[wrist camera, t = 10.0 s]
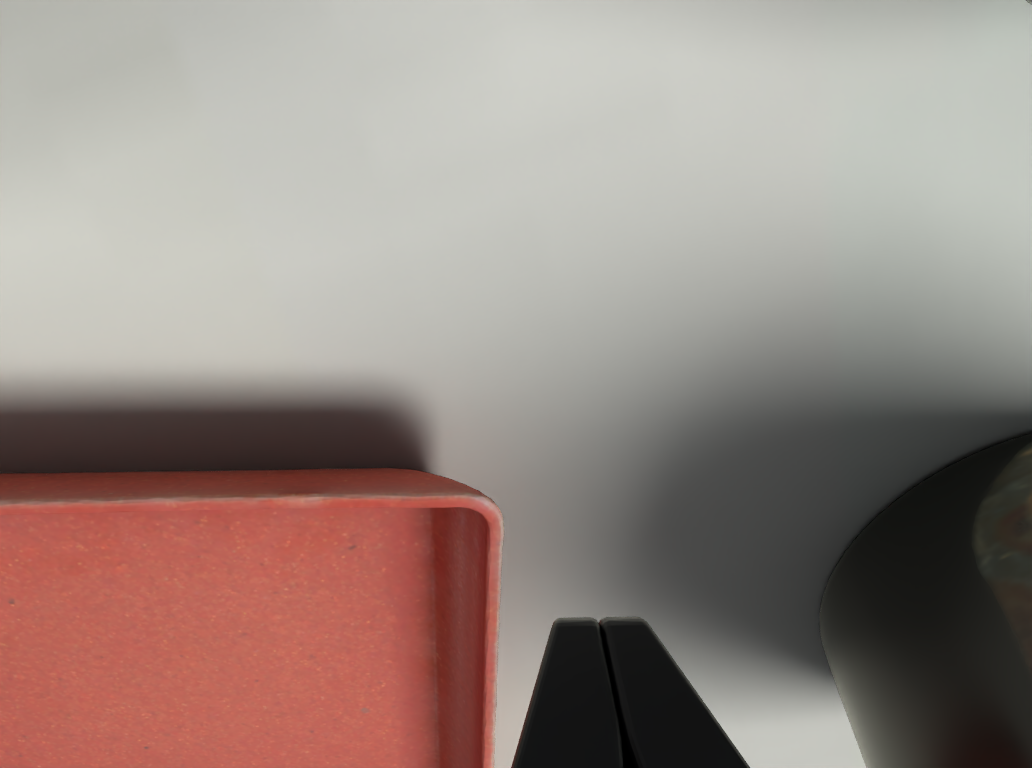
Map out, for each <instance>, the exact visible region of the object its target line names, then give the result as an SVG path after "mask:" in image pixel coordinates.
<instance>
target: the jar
mask: <svg viewBox="0 0 1032 768" xmlns="http://www.w3.org/2000/svg"><path fill="white" fill-rule="evenodd" d="M819 627H820V635H821V640H822V644H823V648H824V652H825V655H826V658H827V661H828V664H829V667H830V669H831V672H832V675H833V678H834V681H835V683H836V686H837V689H838V692H839V694H840V697H841V700H842V703H843V705H844V708H845V711H846V714H847V716H848V719H849V722H850V724H851V727H852V730H853V733H854V735H855V738H856V741H857V743H858V746H859V749H860V751H861V754H862V757H863V760H864V762H865V765H866V768H1032V434H1028V435H1024V436H1021V437H1018V438H1015V439H1012V440H1009V441H1006V442H1003V443H1000V444H998V445H995V446H992V447H990V448H987V449H984V450H982V451H980V452H978V453H975V454H973V455H971V456H969V457H966V458H964V459H962V460H960V461H958V462H956V463H955V464H953V465H951V466H949V467H947V468H945V469H943V470H941V471H940V472H938V473H936V474H935V475H933V476H931V477H929V478H928V479H926V480H925V481H923V482H922V483H920V484H918V485H917V486H915V487H914V488H912V489H911V490H909V491H908V492H907V493H905V494H904V495H903V496H901V497H900V498H899V499H897V500H896V501H895V502H893V503H892V504H891V505H890V506H889V507H888V508H886V509H885V510H884V511H883V512H882V513H880V514H879V515H878V516H877V517H876V518H875V519H874V520H873V521H872V522H871V523H870V524H869V525H868V526H867V527H866V528H865V529H864V530H863V531H862V532H861V533H860V535H859V536H858V537H857V538H856V539H855V540H854V541H853V543H852V544H851V545H850V547H849V548H848V549H847V550H846V552H845V553H844V555H843V556H842V558H841V559H840V561H839V562H838V564H837V565H836V567H835V569H834V571H833V573H832V575H831V577H830V579H829V581H828V584H827V586H826V589H825V591H824V595H823V598H822V602H821V608H820V617H819Z"/></svg>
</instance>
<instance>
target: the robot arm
mask: <svg viewBox="0 0 1032 768" xmlns="http://www.w3.org/2000/svg"><path fill="white" fill-rule="evenodd" d="M1026 1H1027V2H1028V3H1030V4H1032V0H1026ZM511 768H750V767H749V766H748V764H747V763H746V761H745V760H744V758H743V757H742V756H741V754H740V753H739V751H738V750H737V749H736V747H735V746H734V744H733V743H732V741H731V740H730V739H729V737H728V736H727V734H726V733H725V732H724V730H723V729H722V727H721V726H720V724H719V723H718V722H717V720H716V719H715V717H714V716H713V715H712V713H711V712H710V710H709V709H708V707H707V706H706V705H705V703H704V702H703V700H702V699H701V698H700V696H699V695H698V693H697V692H696V690H695V689H694V688H693V686H692V685H691V683H690V682H689V681H688V679H687V678H686V676H685V675H684V673H683V672H682V671H681V669H680V668H679V666H678V665H677V664H676V662H675V661H674V659H673V658H672V656H671V655H670V654H669V652H668V651H667V649H666V648H665V647H664V645H663V644H662V642H661V641H660V640H659V638H658V637H657V635H656V634H655V632H654V631H653V630H652V628H651V627H650V626H649V624H648V623H647V622H646V621H645V620H643V619H642V618H640V617H606V618H603V619H601V620H600V622H599V623H598V622H597V620H595V619H594V618H590V617H584V618H558V619H556V620H555V621H554V623H553V625H552V628H551V631H550V635H549V638H548V642H547V645H546V649H545V652H544V656H543V659H542V662H541V666H540V669H539V673H538V676H537V680H536V683H535V687H534V690H533V694H532V697H531V701H530V704H529V708H528V711H527V715H526V718H525V722H524V725H523V729H522V732H521V736H520V739H519V743H518V746H517V750H516V753H515V756H514V760H513V763H512V767H511Z"/></svg>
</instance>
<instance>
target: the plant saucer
mask: <svg viewBox="0 0 1032 768" xmlns="http://www.w3.org/2000/svg"><path fill="white" fill-rule="evenodd" d="M503 538H504V524H503V516H502V514H501V511H500V509H499V508H498V506H497V505H496V504H495V503H494V502H493V500H492V499H490V498H489V497H487V496H485V495H484V494H482V493H481V492H480V491H478V490H476V489H473V488H471V487H469V486H467V485H465V484H462V483H459V482H457V481H454V480H452V479H449V478H445V477H442V476H438V475H434V474H431V473H427V472H422V471H417V470H411V469H396V468H360V469H297V470H235V471H158V472H80V473H0V768H494V750H495V723H496V713H495V711H496V705H497V702H496V692H497V685H496V681H497V667H498V636H499V625H500V623H499V609H500V598H501V568H502V547H503Z"/></svg>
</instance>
